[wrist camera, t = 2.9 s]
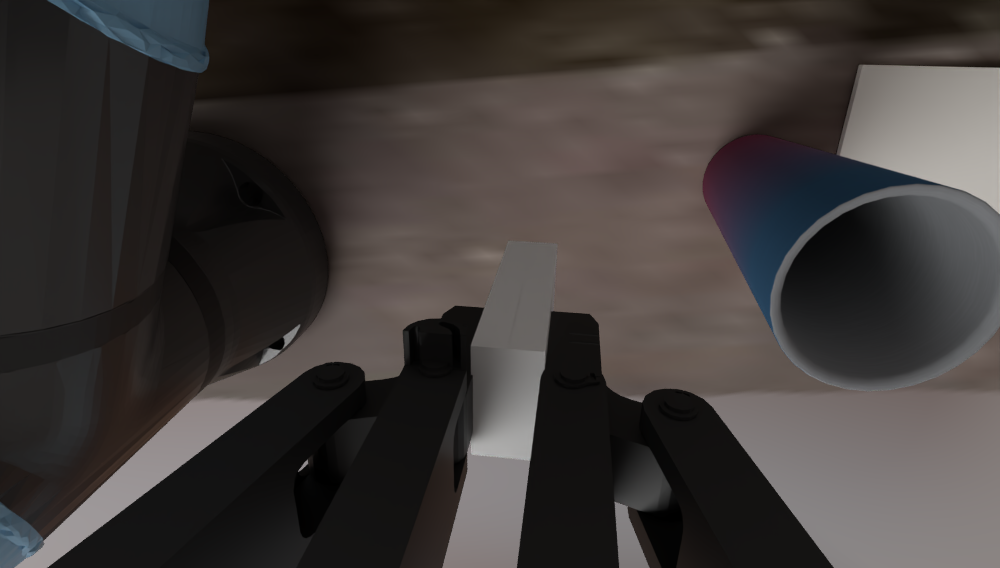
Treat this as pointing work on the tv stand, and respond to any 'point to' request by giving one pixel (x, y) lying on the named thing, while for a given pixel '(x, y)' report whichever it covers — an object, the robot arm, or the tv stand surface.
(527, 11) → the tv stand surface
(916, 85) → the mat
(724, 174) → the cup
